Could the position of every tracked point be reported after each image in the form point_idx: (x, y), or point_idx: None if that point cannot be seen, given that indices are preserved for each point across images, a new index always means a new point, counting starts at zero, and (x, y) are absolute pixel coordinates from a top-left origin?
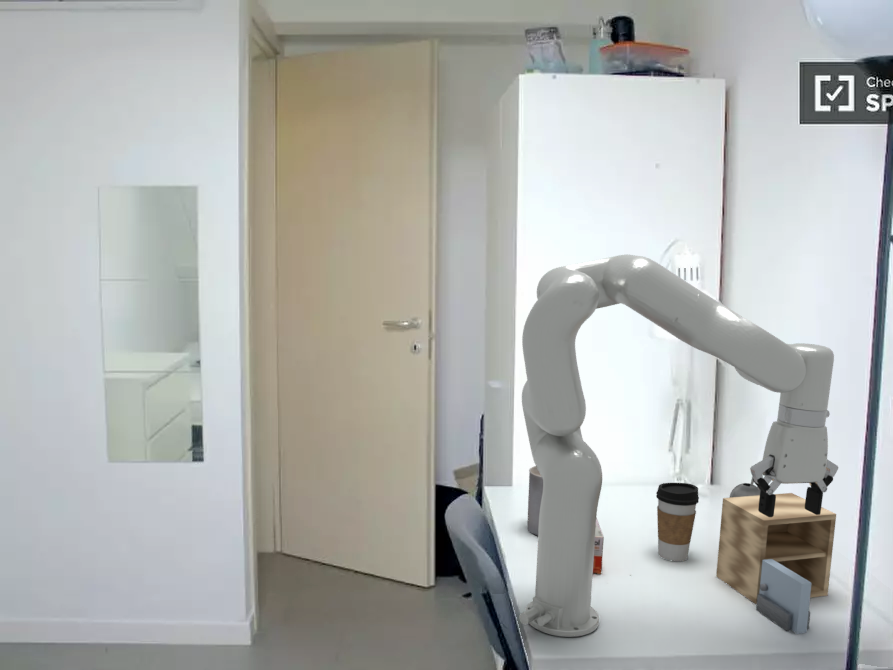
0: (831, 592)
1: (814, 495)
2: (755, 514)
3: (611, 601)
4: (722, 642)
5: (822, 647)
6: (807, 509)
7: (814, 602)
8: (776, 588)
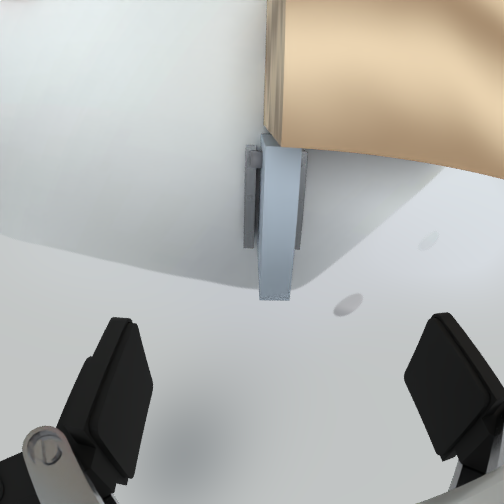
0: None
1: (444, 426)
2: (298, 61)
3: (13, 82)
4: (110, 236)
5: None
6: (425, 333)
7: None
8: (261, 200)
